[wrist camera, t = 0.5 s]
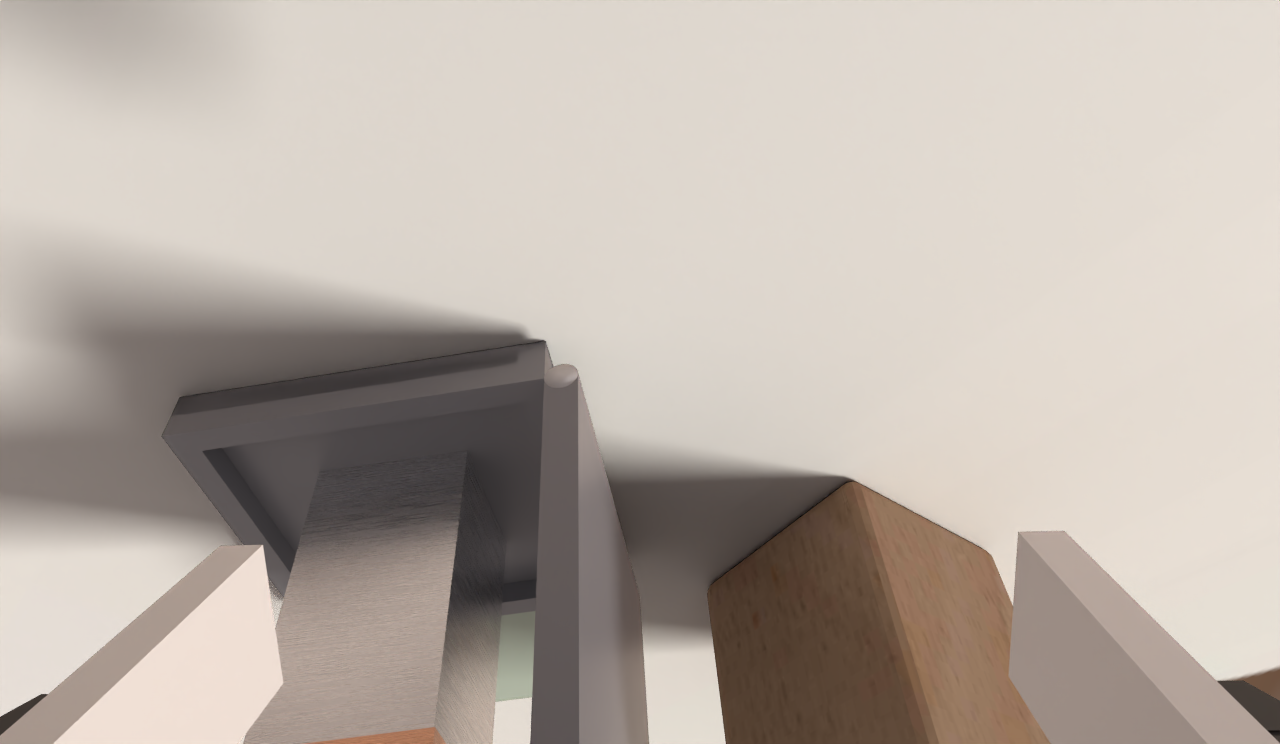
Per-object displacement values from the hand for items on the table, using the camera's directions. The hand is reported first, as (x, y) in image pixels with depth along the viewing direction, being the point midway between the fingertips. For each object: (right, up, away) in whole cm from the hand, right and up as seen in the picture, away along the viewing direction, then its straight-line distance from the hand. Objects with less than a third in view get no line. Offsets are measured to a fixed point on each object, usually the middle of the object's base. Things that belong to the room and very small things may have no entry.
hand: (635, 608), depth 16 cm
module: (-9, -1, +21) cm, 23 cm away
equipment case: (-9, -1, +22) cm, 24 cm away
